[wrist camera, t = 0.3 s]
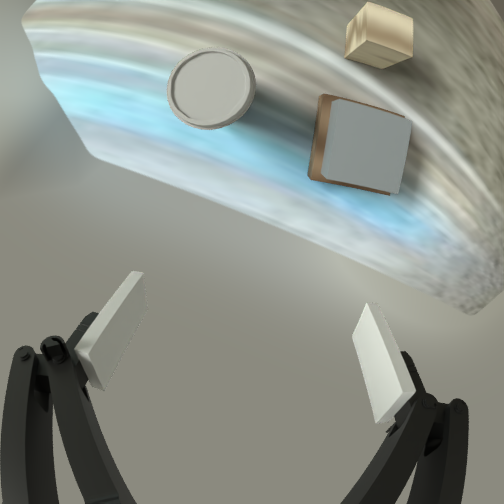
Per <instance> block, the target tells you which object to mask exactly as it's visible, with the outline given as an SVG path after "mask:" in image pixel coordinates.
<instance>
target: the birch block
mask: <svg viewBox="0 0 504 504" xmlns="http://www.w3.org/2000/svg"><path fill="white" fill-rule="evenodd" d="M411 57H413V19H412V18H410V17H408V16H405V15H403V14H400V13H398V12H396V11H393V10H390V9H388V8H385V7H382V6H380V5H377V4H374V3H371V2H367V3H366V4H365V6H364V7H363V8H362V9H361V10H360V11H359V12H358V14H357V15H356V16H355V17H354V18H353V19H352V20H351V22H350V23H349V24H348V25H347V34H346V46H345V57H344V58H346V59H350V60H353V61H357V62H360V63H364V64H367V65H370V66H373V67H377V68H380V69H384V68H386V67H389V66H391V65H393V64H396V63H398V62H401V61H404V60H406V59H409V58H411Z"/></svg>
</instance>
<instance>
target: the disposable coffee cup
mask: <svg viewBox="0 0 504 504" xmlns="http://www.w3.org/2000/svg"><path fill="white" fill-rule="evenodd" d="M255 90H256V81H255V75H254V72H253V70H252V68H251V66H250V64H249V63H248V62H247V61H246V60H245V59H244V58H243V57H242V56H241V55H239V54H238V53H236V52H234V51H232V50H229V49H226V48H220V47H209V48H204V49H200V50H197V51H194V52H192V53H190V54H188V55H187V56H185V57H184V58H183V59H182V60H181V61H179V62H178V63H177V65H176V66H175V68H174V69H173V70H172V72H171V75H170V77H169V80H168V85H167V99H168V102H169V105H170V108H171V110H172V111H173V113H174V114H175V116H177V117H178V118H179V119H180V120H181V121H182V122H184V123H185V124H187V125H189V126H191V127H194V128H198V129H205V130H212V129H218V128H222V127H225V126H228V125H230V124H232V123H233V122H235V121H237V120H238V119H239V118H240V117H241V116H243V115H244V114H245V113H246V111H247V110H248V108H249V107H250V105H251V103H252V101H253V99H254V96H255Z"/></svg>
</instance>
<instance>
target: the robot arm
mask: <svg viewBox="0 0 504 504" xmlns="http://www.w3.org/2000/svg"><path fill="white" fill-rule="evenodd" d="M147 310H148V307H147V299H146V291H145V281H144V273H141V272H136V271H132V272H131V273H130V274H129V275H128V277H127V278H126V279H125V280H124V282H123V283H122V284H121V286H120V287H119V288H118V289H117V291H116V292H115V293H114V295H113V296H112V297H111V298H110V300H109V301H108V303H107V304H106V305H105V307H104V308H103V309H102V310H101V312H100V313H95V312H92V313H90V314H89V315H87V316H86V317H85V318H84V319H83V320H82V322H81V323H80V325H79V326H78V327H77V328H76V330H75V331H74V332H73V334H72V335H71V337H70V338H69V339H68V341H67V342H66V343H65V342H64V340H63V339H62V338H61V337H59V336H50V337H47V338H46V339H45V340H44V341H43V342H42V343H41V346H40V350H41V352H42V354H36V353H35V352H34V350H33V348H32V347H30V346H22V347H20V348H18V349H17V350H16V352H15V354H14V357H13V361H12V365H11V370H10V375H9V379H8V384H7V390H6V396H5V403H4V410H3V419H2V431H1V450H0V453H1V454H0V465H1V466H0V467H1V469H0V470H1V488H2V499H3V502H2V504H59V500H58V494H57V487H56V479H55V470H54V457H53V435H52V416H53V405H54V409H55V414H56V418H57V422H58V426H59V430H60V434H61V437H62V441H63V444H64V447H65V451H66V454H67V457H68V460H69V463H70V465H71V468H72V471H73V474H74V476H75V479H76V481H77V484H78V486H79V489H80V491H81V493H82V496H83V498H84V501H85V504H136V502H135V500H134V499H133V497H132V495H131V493H130V492H129V490H128V488H127V486H126V484H125V482H124V480H123V478H122V476H121V475H120V472H119V470H118V468H117V466H116V464H115V462H114V460H113V458H112V456H111V453H110V451H109V449H108V446H107V444H106V441H105V439H104V437H103V434H102V432H101V429H100V426H99V424H98V421H97V418H96V415H95V412H94V410H93V406H92V403H91V400H90V397H89V394H88V390H87V388H86V386H85V385H86V383H87V381H88V380H89V382H90V383H91V385H92V387H95V388H98V389H101V390H103V391H105V389H106V387H107V385H108V383H109V381H110V379H111V377H112V375H113V373H114V371H115V369H116V367H117V365H118V363H119V362H120V360H121V358H122V356H123V354H124V352H125V350H126V348H127V346H128V345H129V343H130V341H131V339H132V337H133V335H134V333H135V332H136V330H137V328H138V326H139V324H140V323H141V321H142V319H143V317H144V315H145V314H146V312H147ZM352 338H353V341H354V344H355V348H356V351H357V354H358V358H359V362H360V365H361V369H362V372H363V376H364V379H365V383H366V387H367V391H368V394H369V398H370V402H371V406H372V410H373V414H374V419H375V423H376V424H377V423H386V422H389V421H390V420H391V419H392V418H393V417H395V421H396V422H395V423H394V424H393V425H392V426H391V427H390V428H389V429H388V430H387V431H386V432H387V433H388V432H389V433H388V434H387V436H386V438H385V440H384V442H383V443H382V445H381V447H380V448H379V450H378V452H377V453H376V455H375V456H374V458H373V459H372V461H371V462H370V464H369V465H368V467H367V468H366V470H365V471H364V473H363V474H362V476H361V477H360V479H359V480H358V481H357V483H356V484H355V485H354V487H353V488H352V490H351V491H350V492H349V493H348V495H347V496H346V497H345V499H344V500H343V501H342V502H341V504H395V502H396V501H397V499H398V497H399V496H400V494H401V492H402V490H403V489H404V487H405V485H406V483H407V481H408V479H409V477H410V475H411V473H412V471H413V469H414V467H415V465H416V463H417V467H416V472H415V476H414V480H413V484H412V487H411V491H410V495H409V498H408V501H407V504H461V500H462V495H463V489H464V482H465V475H466V465H467V454H468V430H469V425H468V424H469V421H468V420H469V418H468V417H469V415H468V407H467V405H466V403H465V402H464V401H463V400H461V399H457V398H456V399H453V400H452V401H451V402H450V403H449V404H445V403H439V402H438V401H437V399H436V398H435V397H434V396H433V395H431V394H429V393H426V391H425V388H424V386H423V383H422V381H421V379H420V376H419V374H418V372H417V369H416V367H415V365H414V363H413V360H412V358H411V357H410V356H409V355H408V353H407V352H406V351H404V352H403V351H400V350H399V348H398V346H397V343H396V341H395V339H394V337H393V335H392V332H391V330H390V328H389V326H388V324H387V322H386V320H385V317H384V315H383V313H382V311H381V309H380V307H379V305H378V304H377V303H368V302H367V303H366V306H365V308H364V310H363V312H362V315H361V317H360V319H359V322H358V324H357V326H356V328H355V331H354V333H353V335H352ZM417 461H418V462H417Z"/></svg>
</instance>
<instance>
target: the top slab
mask: <svg viewBox="0 0 504 504" xmlns="http://www.w3.org/2000/svg"><path fill="white" fill-rule="evenodd" d="M411 127H412V121H411V120H408V119H406V118H403V117H400V116H397V115H394V114H391V113H388V112H385V111H382V110H378V109H375V108H372V107H368V106H365V105H361V104H358V103H354V102H350V101H346V100H342V99H337V100H335V101H332V104H331V111H330V118H329V125H328V131H327V138H326V144H325V150H324V156H323V162H322V168H321V174H322V175H323V176H324V177H325V178H326V179H330V180H335V181H340V182H345V183H350V184H355V185H360V186H364V187H369V188H373V189H378V190H382V191H386V192H390V193H394V194H398V192H399V188H400V184H401V180H402V175H403V170H404V166H405V161H406V156H407V151H408V145H409V139H410V133H411Z"/></svg>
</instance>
